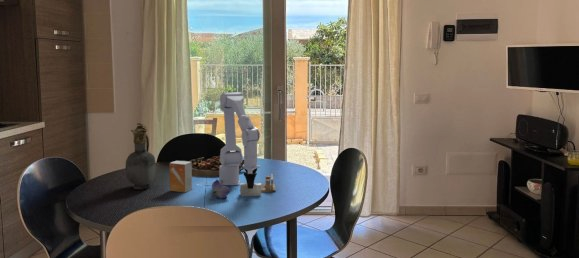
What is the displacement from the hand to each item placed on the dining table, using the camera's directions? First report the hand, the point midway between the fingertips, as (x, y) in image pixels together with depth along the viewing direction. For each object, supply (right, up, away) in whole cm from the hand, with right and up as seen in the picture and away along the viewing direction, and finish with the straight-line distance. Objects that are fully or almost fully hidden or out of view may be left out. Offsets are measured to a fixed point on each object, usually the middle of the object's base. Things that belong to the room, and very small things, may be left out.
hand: (250, 186), depth 215 cm
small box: (-32, -3, +7) cm, 33 cm away
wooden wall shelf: (+4, -2, +11) cm, 12 cm away
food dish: (-23, +3, +49) cm, 54 cm away
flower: (-13, -5, -5) cm, 15 cm away
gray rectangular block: (0, -4, +1) cm, 4 cm away
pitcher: (-52, -2, +13) cm, 53 cm away
